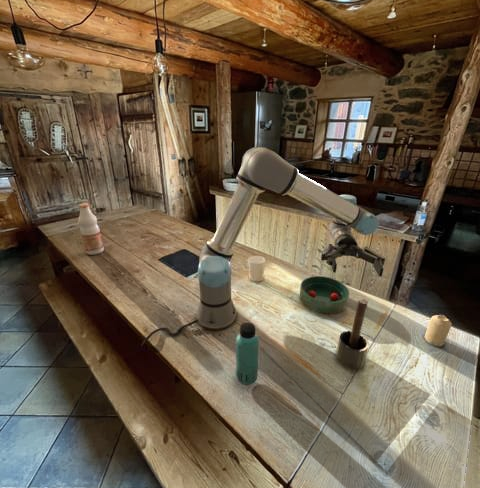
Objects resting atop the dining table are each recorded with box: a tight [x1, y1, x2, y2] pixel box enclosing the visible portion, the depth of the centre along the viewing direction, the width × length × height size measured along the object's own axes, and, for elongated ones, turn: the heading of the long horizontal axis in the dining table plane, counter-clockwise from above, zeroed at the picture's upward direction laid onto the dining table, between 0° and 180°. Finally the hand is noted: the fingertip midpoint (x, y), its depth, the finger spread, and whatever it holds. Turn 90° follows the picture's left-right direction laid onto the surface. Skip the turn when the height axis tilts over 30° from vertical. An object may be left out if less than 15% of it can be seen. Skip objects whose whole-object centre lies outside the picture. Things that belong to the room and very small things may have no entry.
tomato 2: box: [331, 293, 338, 301], centre depth 111 cm, size 3×3×3 cm
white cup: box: [247, 255, 266, 282], centre depth 126 cm, size 8×8×10 cm
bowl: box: [299, 275, 350, 315], centre depth 111 cm, size 19×19×6 cm
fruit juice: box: [77, 202, 105, 256], centre depth 148 cm, size 9×9×28 cm
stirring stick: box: [348, 298, 369, 349], centre depth 79 cm, size 2×2×22 cm
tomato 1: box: [309, 291, 316, 298], centre depth 112 cm, size 3×3×3 cm
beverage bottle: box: [235, 322, 260, 386], centre depth 73 cm, size 6×7×20 cm
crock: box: [335, 330, 370, 370], centre depth 83 cm, size 8×8×8 cm
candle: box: [424, 314, 453, 347], centre depth 90 cm, size 6×6×10 cm
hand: (357, 270), depth 82 cm, fingers open, 13 cm apart
